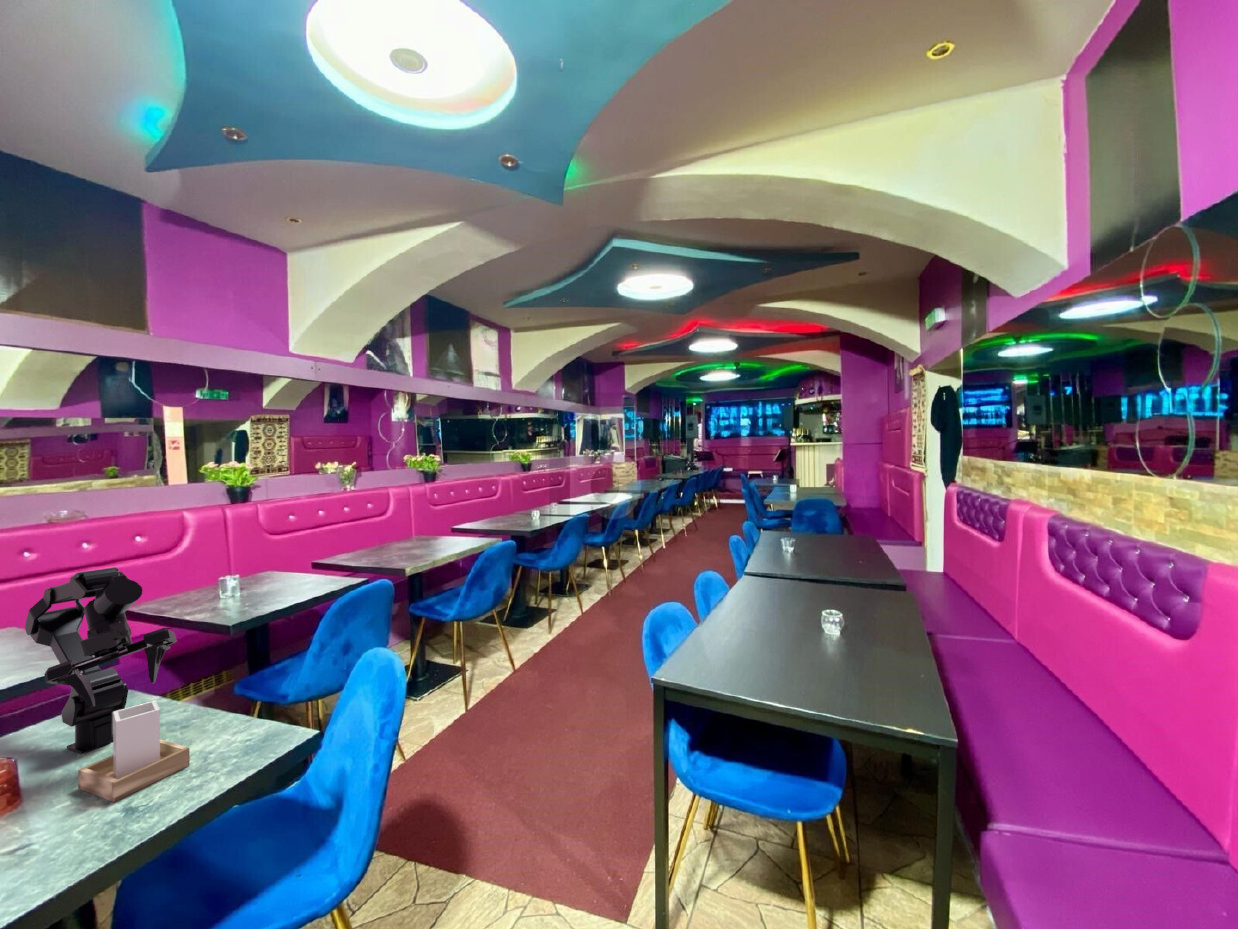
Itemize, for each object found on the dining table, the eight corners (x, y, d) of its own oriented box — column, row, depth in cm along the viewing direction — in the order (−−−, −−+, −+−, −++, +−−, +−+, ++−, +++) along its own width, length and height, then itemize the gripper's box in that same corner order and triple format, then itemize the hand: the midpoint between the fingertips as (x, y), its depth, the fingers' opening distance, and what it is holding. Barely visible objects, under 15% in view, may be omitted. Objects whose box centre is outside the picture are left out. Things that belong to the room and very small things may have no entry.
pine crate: (78, 788, 92) (78, 769, 92) (154, 754, 103) (154, 737, 103) (114, 802, 88) (114, 783, 88) (189, 765, 99) (189, 748, 99)
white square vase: (113, 773, 95) (113, 711, 95) (155, 759, 100) (155, 700, 100) (116, 786, 91) (116, 722, 91) (160, 770, 96) (159, 709, 96)
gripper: (22, 638, 93) (37, 718, 89) (152, 597, 103) (170, 667, 99) (52, 646, 102) (66, 720, 98) (169, 608, 112) (186, 673, 108)
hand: (123, 694), depth 101 cm, fingers open, 9 cm apart
